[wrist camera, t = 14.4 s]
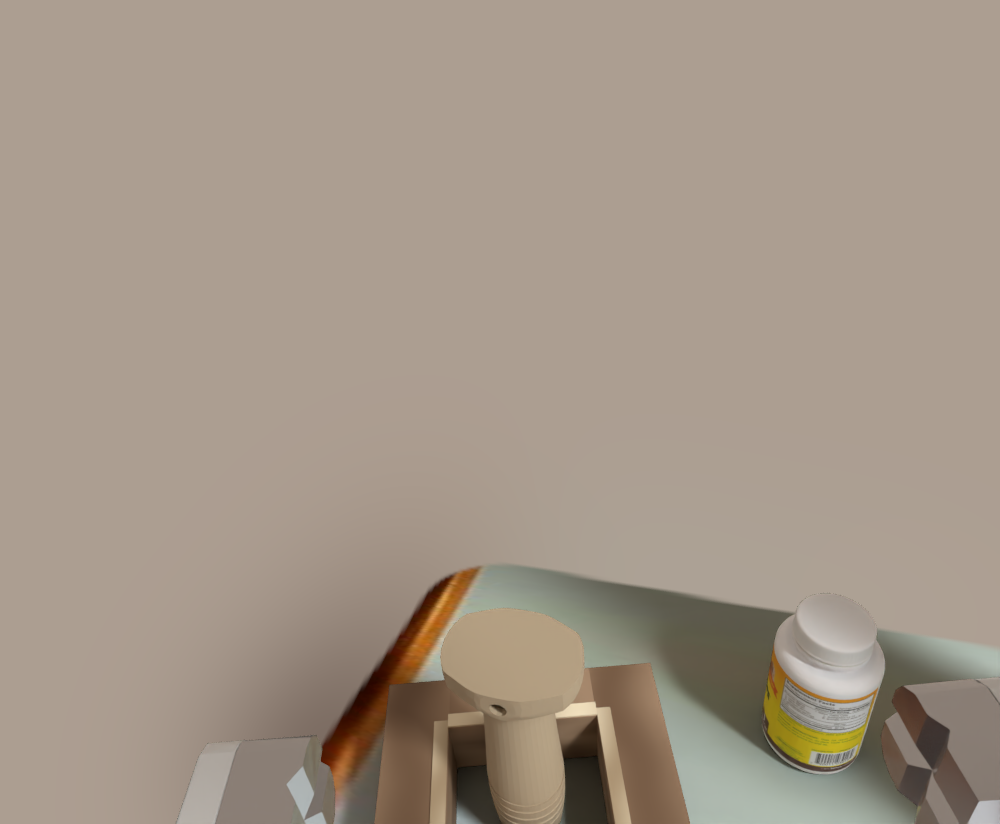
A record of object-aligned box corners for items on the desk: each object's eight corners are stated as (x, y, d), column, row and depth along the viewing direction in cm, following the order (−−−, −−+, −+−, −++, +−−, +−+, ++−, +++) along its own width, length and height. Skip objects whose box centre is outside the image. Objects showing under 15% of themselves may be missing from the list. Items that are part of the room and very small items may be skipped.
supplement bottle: (787, 678, 47) (811, 565, 41) (875, 732, 43) (914, 617, 38) (741, 736, 44) (760, 623, 38) (831, 800, 40) (866, 685, 35)
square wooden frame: (648, 703, 46) (650, 661, 44) (709, 962, 34) (715, 924, 32) (399, 723, 46) (389, 684, 44) (376, 987, 35) (359, 951, 32)
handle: (490, 772, 43) (461, 599, 35) (597, 798, 41) (592, 622, 33) (464, 856, 39) (425, 683, 31) (581, 888, 38) (571, 713, 29)
